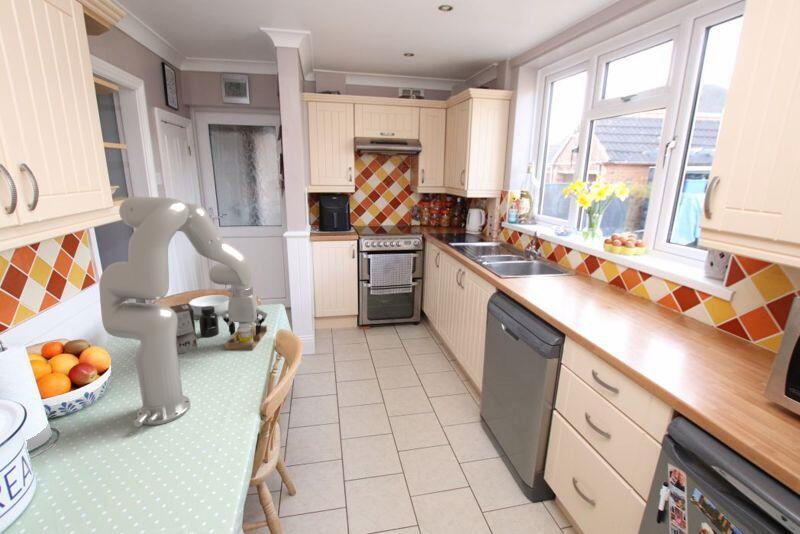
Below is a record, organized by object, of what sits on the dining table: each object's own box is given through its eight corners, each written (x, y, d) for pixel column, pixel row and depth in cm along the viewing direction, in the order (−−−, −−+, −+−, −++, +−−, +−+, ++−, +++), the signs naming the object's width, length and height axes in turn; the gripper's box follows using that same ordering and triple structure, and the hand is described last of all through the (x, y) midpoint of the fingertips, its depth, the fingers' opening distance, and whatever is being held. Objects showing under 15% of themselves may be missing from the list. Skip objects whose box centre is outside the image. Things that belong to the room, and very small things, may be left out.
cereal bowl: (236, 308, 184) (234, 294, 182) (222, 321, 167) (221, 306, 166) (200, 307, 182) (198, 294, 181) (183, 321, 166) (181, 306, 165)
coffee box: (198, 349, 141) (193, 309, 137) (178, 354, 137) (173, 313, 133) (193, 341, 148) (188, 302, 144) (174, 345, 144) (169, 305, 140)
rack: (252, 351, 140) (252, 344, 140) (225, 351, 140) (224, 344, 139) (267, 332, 158) (267, 325, 157) (243, 331, 157) (242, 325, 157)
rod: (258, 337, 151) (257, 312, 148) (247, 337, 150) (246, 312, 147) (260, 332, 155) (259, 308, 152) (248, 333, 154) (248, 308, 151)
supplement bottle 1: (211, 339, 149) (209, 311, 146) (196, 337, 150) (193, 309, 147) (223, 332, 156) (220, 305, 153) (208, 331, 157) (205, 304, 154)
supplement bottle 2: (252, 347, 143) (251, 323, 141) (237, 348, 141) (235, 324, 139) (253, 341, 148) (252, 318, 146) (239, 342, 146) (237, 319, 144)
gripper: (214, 294, 136) (218, 337, 140) (262, 295, 136) (265, 338, 140) (223, 288, 143) (226, 329, 147) (268, 289, 144) (271, 330, 148)
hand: (245, 333), depth 144 cm, fingers open, 9 cm apart
